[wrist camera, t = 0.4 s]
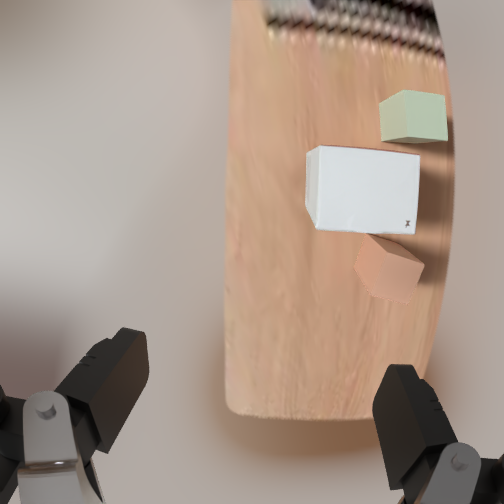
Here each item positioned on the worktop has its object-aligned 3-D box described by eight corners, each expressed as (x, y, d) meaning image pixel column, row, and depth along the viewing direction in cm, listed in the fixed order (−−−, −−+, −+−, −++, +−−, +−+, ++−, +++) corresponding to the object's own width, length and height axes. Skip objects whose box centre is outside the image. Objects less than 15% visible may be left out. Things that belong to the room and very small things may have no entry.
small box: (375, 155, 32) (423, 154, 20) (372, 210, 34) (417, 237, 21) (305, 150, 33) (318, 143, 20) (303, 206, 35) (315, 232, 22)
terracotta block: (366, 232, 35) (386, 252, 27) (398, 243, 35) (424, 264, 27) (353, 267, 36) (370, 295, 28) (385, 277, 36) (407, 305, 28)
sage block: (378, 103, 30) (403, 89, 23) (413, 106, 30) (444, 95, 22) (381, 141, 32) (407, 136, 24) (415, 143, 31) (448, 140, 23)
